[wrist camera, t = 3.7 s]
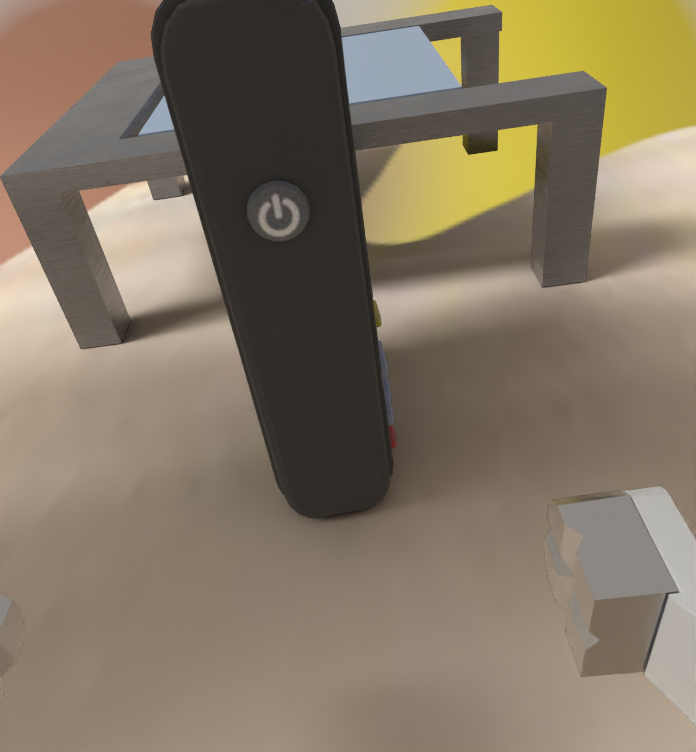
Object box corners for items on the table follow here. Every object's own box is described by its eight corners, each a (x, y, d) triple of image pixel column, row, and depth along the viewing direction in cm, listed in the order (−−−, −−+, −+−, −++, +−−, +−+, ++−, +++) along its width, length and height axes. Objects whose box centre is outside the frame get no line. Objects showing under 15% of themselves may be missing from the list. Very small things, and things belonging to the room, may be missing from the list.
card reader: (410, 516, 21) (351, -36, 11) (285, 539, 21) (126, 1, 11) (368, 351, 28) (311, -67, 19) (275, 368, 28) (173, -44, 19)
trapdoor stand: (80, 348, 31) (-1, 176, 26) (158, 188, 47) (118, 61, 42) (585, 281, 30) (607, 87, 25) (491, 141, 46) (492, 4, 41)
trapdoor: (145, 157, 29) (138, 134, 28) (191, 78, 40) (187, 60, 39) (462, 111, 28) (461, 86, 27) (419, 44, 39) (418, 25, 38)
